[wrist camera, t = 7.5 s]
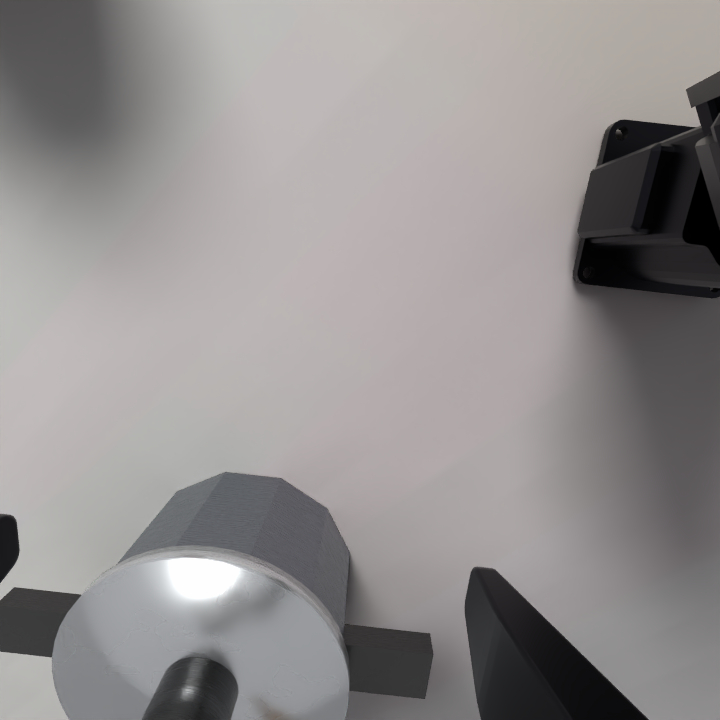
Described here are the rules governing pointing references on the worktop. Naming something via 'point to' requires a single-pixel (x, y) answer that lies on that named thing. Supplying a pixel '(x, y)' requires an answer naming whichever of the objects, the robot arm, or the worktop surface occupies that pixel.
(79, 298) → the worktop surface
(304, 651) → the lid
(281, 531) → the pot
